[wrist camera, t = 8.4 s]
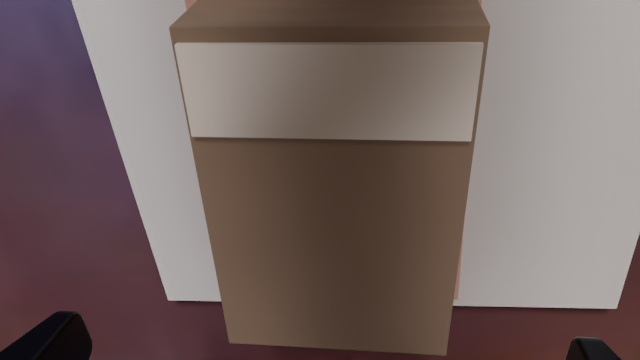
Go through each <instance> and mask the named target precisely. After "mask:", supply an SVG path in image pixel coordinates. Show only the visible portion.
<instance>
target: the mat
mask: <svg viewBox="0 0 640 360" xmlns="http://www.w3.org/2000/svg"><path fill="white" fill-rule="evenodd" d="M71 1H72V4H73V7H74V10H75V13H76V16H77V19H78V22H79V25H80V29H81V32H82V35H83V38H84V41H85V44H86V47H87V50H88V53H89V56H90V60H91V63H92V66H93V69H94V72H95V75H96V78H97V81H98V84H99V87H100V91H101V94H102V97H103V100H104V103H105V106H106V109H107V112H108V115H109V118H110V122H111V125H112V128H113V131H114V134H115V137H116V140H117V143H118V146H119V149H120V153H121V156H122V159H123V162H124V165H125V168H126V171H127V174H128V177H129V180H130V184H131V187H132V190H133V193H134V196H135V199H136V202H137V205H138V208H139V211H140V215H141V218H142V221H143V224H144V227H145V230H146V233H147V236H148V239H149V242H150V246H151V249H152V252H153V255H154V258H155V261H156V264H157V267H158V270H159V273H160V277H161V280H162V283H163V286H164V289H165V292H166V295H167V298H168V300H176V301H221V297H220V291H219V286H218V281H217V276H216V270H215V265H214V260H213V255H212V250H211V244H210V239H209V234H208V229H207V224H206V218H205V213H204V208H203V203H202V198H201V192H200V187H199V182H198V177H197V172H196V166H195V161H194V156H193V151H192V146H191V140H190V135H189V130H188V125H187V119H186V114H185V109H184V104H183V99H182V93H181V88H180V83H179V78H178V73H177V67H176V62H175V57H174V52H173V47H172V41H171V36H170V31H169V27H170V26H171V25H172V24H173V23H174V22H175V21H176V20H177V19H178V18H179V17H180V16H181V15H182V14H183V13H185V12H186V11H187V10H188V9H189V8H190V7H191V6H192V5H193V4H194V3H195V2H196V1H197V0H71ZM478 2H479V4H480V6H481V8H482V10H483V12H484V14H485V16H486V18H487V20H488V22H489V24H490V32H489V40H488V47H487V55H486V62H485V69H484V77H483V84H482V92H481V99H480V107H479V114H478V122H477V129H476V136H475V144H474V151H473V159H472V166H471V174H470V181H469V189H468V196H467V203H466V211H465V218H464V226H463V233H462V241H461V248H460V256H459V263H458V271H457V278H456V285H455V293H454V300H453V306H492V307H545V308H598V309H617V306H618V302H619V299H620V296H621V293H622V289H623V286H624V283H625V279H626V276H627V273H628V270H629V266H630V263H631V260H632V256H633V253H634V250H635V247H636V243H637V240H638V237H639V233H640V0H478Z"/></svg>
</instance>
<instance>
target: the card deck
mask: <svg viewBox="0 0 640 360" xmlns="http://www.w3.org/2000/svg"><path fill="white" fill-rule="evenodd" d="M169 31H170V36H171V41H172V47H173V52H174V57H175V62H176V67H177V73H178V78H179V83H180V88H181V93H182V99H183V104H184V109H185V114H186V119H187V125H188V130H189V135H190V140H191V146H192V151H193V156H194V161H195V166H196V172H197V177H198V182H199V187H200V192H201V198H202V203H203V208H204V213H205V218H206V224H207V229H208V234H209V239H210V244H211V250H212V255H213V260H214V265H215V270H216V276H217V281H218V286H219V291H220V297H221V302H222V307H223V312H224V317H225V323H226V328H227V333H228V338H229V343H239V344H257V345H274V346H291V347H308V348H326V349H343V350H360V351H377V352H395V353H412V354H429V355H446V352H447V345H448V338H449V330H450V323H451V315H452V308H453V300H454V293H455V285H456V278H457V271H458V263H459V256H460V248H461V241H462V233H463V226H464V218H465V211H466V203H467V196H468V189H469V181H470V174H471V166H472V159H473V151H474V144H475V136H476V129H477V122H478V114H479V107H480V99H481V92H482V84H483V77H484V69H485V62H486V55H487V47H488V40H489V32H490V24H489V22H488V20H487V18H486V16H485V14H484V12H483V10H482V8H481V6H480V4H479V2H478V0H197V1H196V2H195V3H194V4H193V5H192V6H191V7H190V8H189V9H188V10H187V11H186V12H185V13H183V14H182V15H181V16H180V17H179V18H178V19H177V20H176V21H175V22H174V23H173V24H172V25H171V26H170V27H169Z"/></svg>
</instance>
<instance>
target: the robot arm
mask: <svg viewBox="0 0 640 360" xmlns="http://www.w3.org/2000/svg"><path fill="white" fill-rule="evenodd" d="M91 351H92V340H91V337H90V335H89V332H88V330H87V327H86V325H85V322H84V320H83V317H82V315H81V314H79V313H78V312H70V311H59V312H56V313H54V314H52V315H51V316H50V317H48V318H47V319H45V320H44V321H43V322H41V323H40V324H38V325H37V326H36V327H34V328H33V329H32V330H30V331H29V332H27V333H26V334H25V335H23V336H22V337H20V338H19V339H18V340H16V341H15V342H13V343H12V344H11V345H9V346H8V347H6V348H5V349H4V350H2V351H1V352H0V360H89V358H90V355H91ZM566 360H621V359H620V358H619V357H618V356H617V355H616V354H615V353H614V352H613V351H612V350H611V349H610V348H609V347H608V346H607V345H606V344H605V343H604V342H603V341H602V340H600V339H598V338H594V337H575V338H574V339H573V340H572V342H571V344H570V348H569V351H568V354H567V357H566Z"/></svg>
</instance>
